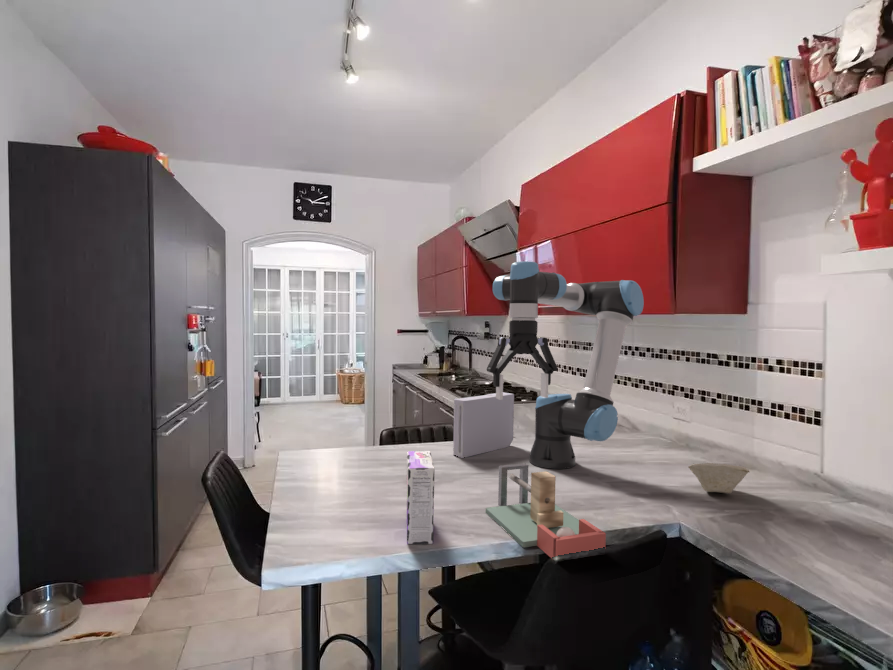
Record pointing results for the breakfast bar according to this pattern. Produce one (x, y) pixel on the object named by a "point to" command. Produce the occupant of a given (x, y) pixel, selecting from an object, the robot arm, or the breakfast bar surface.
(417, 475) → the candy box
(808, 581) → the breakfast bar surface
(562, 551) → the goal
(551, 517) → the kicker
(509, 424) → the game console
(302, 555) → the breakfast bar surface
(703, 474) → the bowl
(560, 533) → the ball
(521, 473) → the metal rectangular frame
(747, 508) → the breakfast bar surface
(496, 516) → the pitch board
